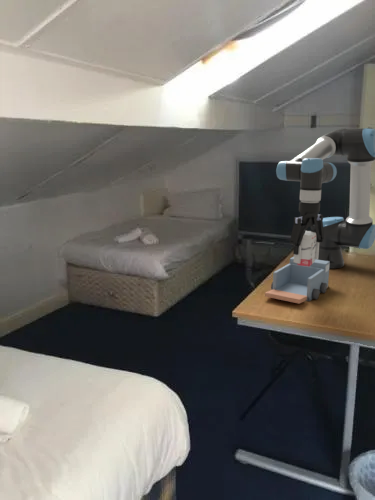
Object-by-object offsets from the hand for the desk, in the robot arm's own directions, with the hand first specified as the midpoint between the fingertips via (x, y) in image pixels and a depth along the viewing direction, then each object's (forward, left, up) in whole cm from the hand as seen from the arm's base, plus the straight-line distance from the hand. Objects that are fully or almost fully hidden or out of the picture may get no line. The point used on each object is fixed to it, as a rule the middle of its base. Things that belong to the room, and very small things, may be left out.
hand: (305, 260), depth 177 cm
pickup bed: (-9, -9, -16) cm, 20 cm away
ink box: (0, 0, -1) cm, 1 cm away
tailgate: (+2, -5, -14) cm, 15 cm away
